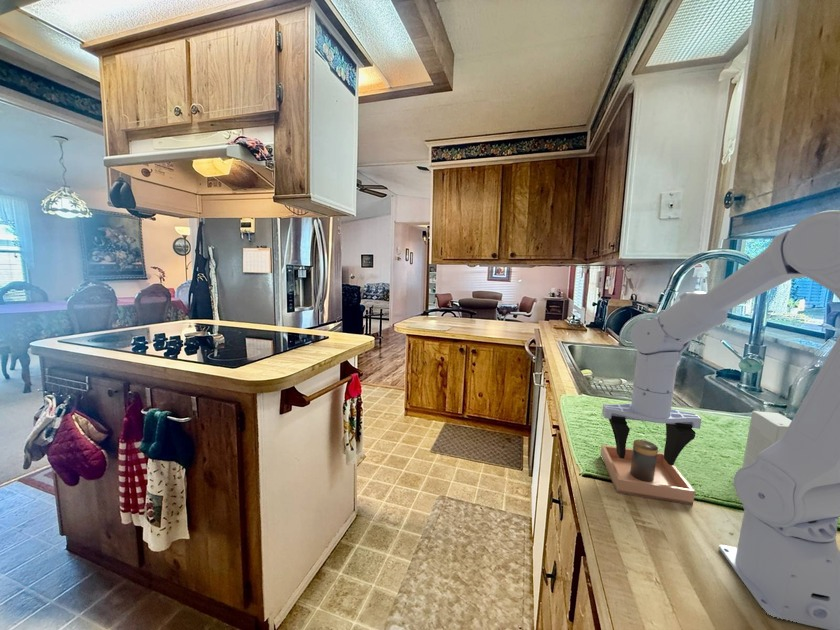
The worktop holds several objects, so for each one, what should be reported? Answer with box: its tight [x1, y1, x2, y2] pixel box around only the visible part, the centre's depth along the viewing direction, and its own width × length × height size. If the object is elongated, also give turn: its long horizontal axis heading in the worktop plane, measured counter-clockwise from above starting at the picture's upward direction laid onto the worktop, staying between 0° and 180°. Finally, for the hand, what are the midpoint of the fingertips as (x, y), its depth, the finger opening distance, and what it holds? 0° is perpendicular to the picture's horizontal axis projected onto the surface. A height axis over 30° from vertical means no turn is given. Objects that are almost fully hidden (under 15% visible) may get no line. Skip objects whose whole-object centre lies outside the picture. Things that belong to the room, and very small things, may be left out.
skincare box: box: [741, 410, 792, 468], centre depth 59 cm, size 6×4×12 cm
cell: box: [630, 439, 659, 482], centre depth 60 cm, size 4×4×6 cm
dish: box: [600, 444, 696, 506], centre depth 60 cm, size 11×11×2 cm
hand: (644, 458), depth 60 cm, fingers open, 7 cm apart
